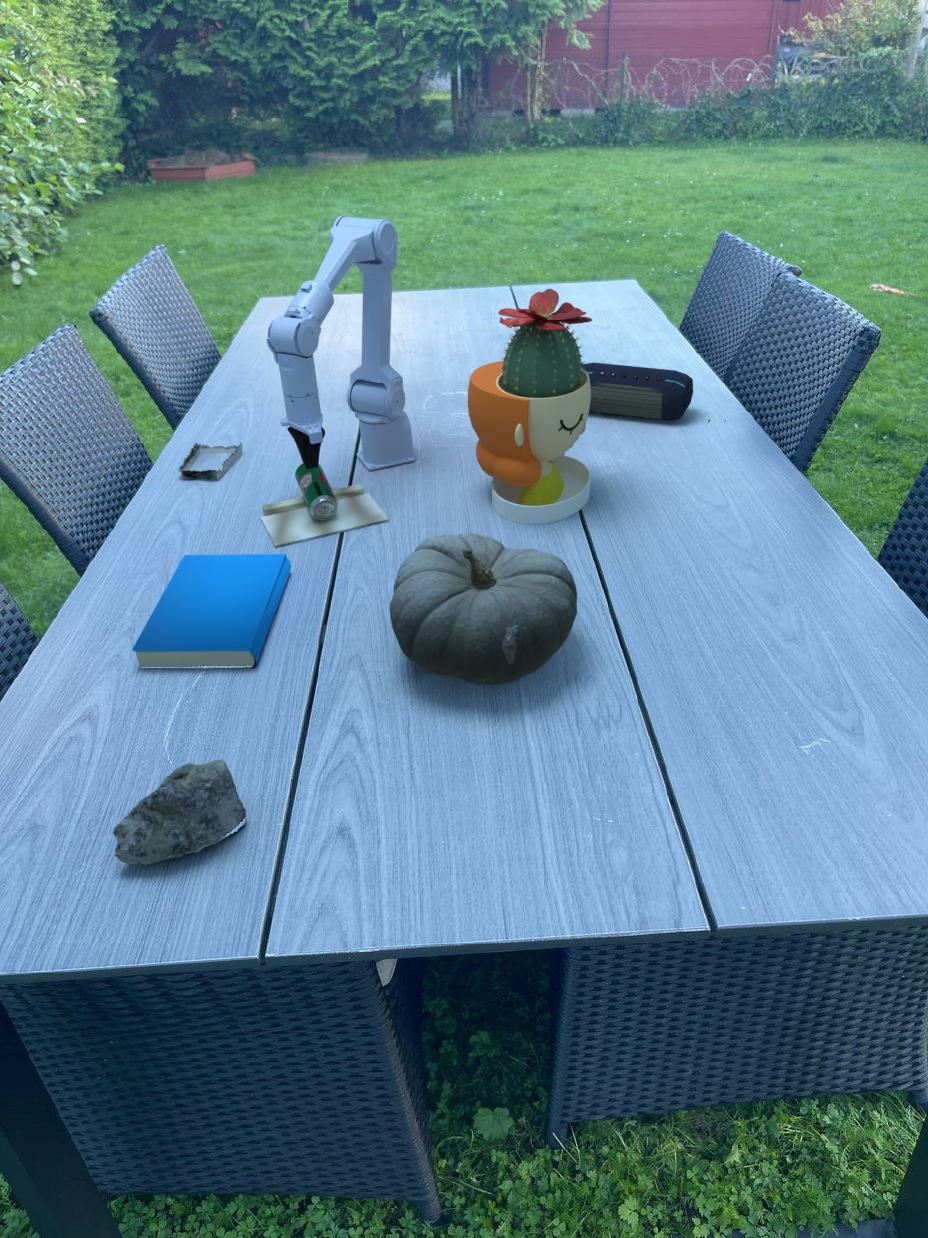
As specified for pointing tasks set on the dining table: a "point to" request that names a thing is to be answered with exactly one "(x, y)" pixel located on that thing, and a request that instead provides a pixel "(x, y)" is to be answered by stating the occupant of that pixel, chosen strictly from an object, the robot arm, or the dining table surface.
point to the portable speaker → (639, 391)
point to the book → (214, 611)
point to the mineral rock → (181, 815)
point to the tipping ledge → (297, 523)
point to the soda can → (316, 492)
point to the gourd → (481, 608)
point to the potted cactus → (534, 415)
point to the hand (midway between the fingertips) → (311, 466)
